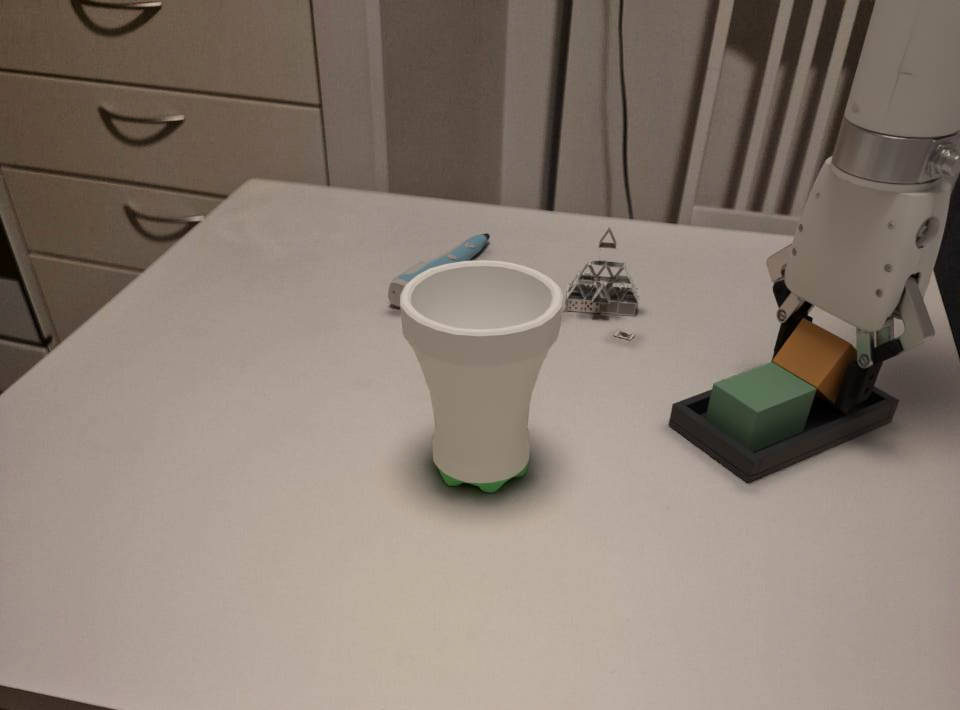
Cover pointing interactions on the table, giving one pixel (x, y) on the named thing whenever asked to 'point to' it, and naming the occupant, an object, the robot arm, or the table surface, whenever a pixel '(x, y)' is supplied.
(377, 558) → the table surface
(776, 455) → the tray
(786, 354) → the block orange
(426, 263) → the blue elongated piece
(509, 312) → the cup
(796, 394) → the green block
